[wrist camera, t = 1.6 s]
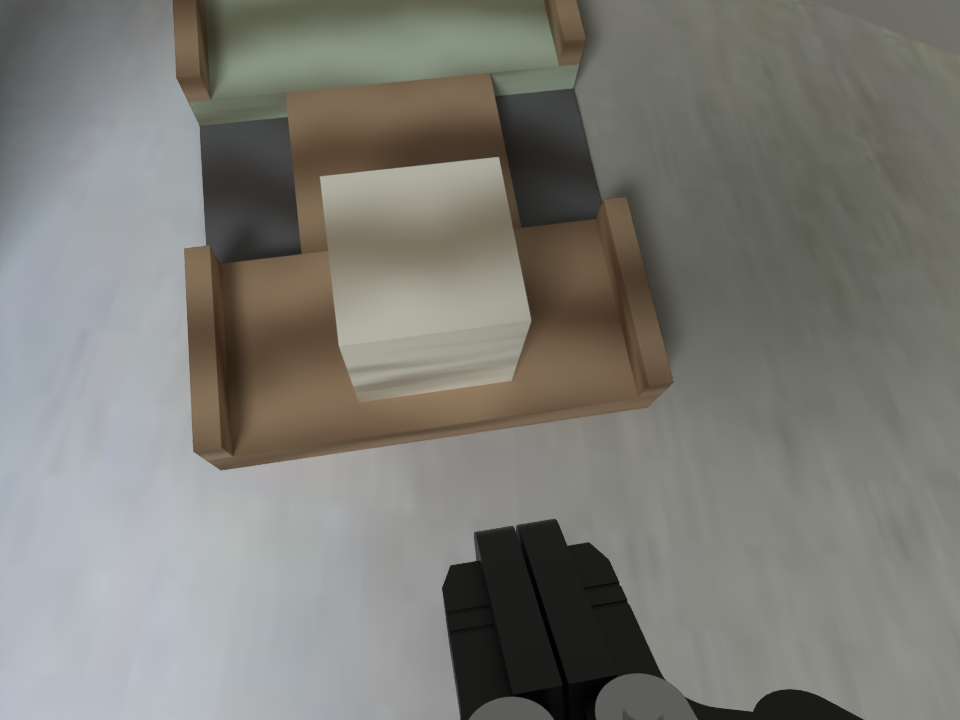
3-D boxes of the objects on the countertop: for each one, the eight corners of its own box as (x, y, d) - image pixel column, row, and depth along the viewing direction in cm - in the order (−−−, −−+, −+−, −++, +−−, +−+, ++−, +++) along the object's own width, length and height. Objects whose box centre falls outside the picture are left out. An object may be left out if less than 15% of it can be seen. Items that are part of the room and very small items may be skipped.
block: (511, 380, 37) (531, 320, 29) (358, 402, 36) (338, 346, 29) (486, 245, 39) (498, 156, 32) (342, 262, 39) (319, 176, 31)
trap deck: (647, 407, 40) (680, 375, 34) (221, 470, 37) (186, 446, 32) (537, -49, 49) (549, -128, 44) (193, -22, 47) (163, -101, 42)
